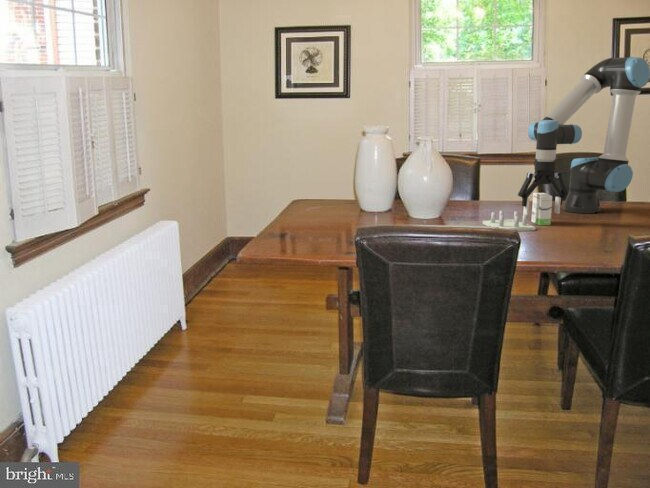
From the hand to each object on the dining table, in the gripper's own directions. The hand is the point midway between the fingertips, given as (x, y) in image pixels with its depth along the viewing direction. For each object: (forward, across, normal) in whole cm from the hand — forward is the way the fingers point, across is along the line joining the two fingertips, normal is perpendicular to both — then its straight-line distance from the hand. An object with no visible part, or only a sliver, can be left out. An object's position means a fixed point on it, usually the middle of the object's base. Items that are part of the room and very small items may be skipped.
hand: (541, 214), depth 278 cm
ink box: (+4, 0, 0) cm, 4 cm away
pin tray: (+4, +16, +4) cm, 17 cm away
